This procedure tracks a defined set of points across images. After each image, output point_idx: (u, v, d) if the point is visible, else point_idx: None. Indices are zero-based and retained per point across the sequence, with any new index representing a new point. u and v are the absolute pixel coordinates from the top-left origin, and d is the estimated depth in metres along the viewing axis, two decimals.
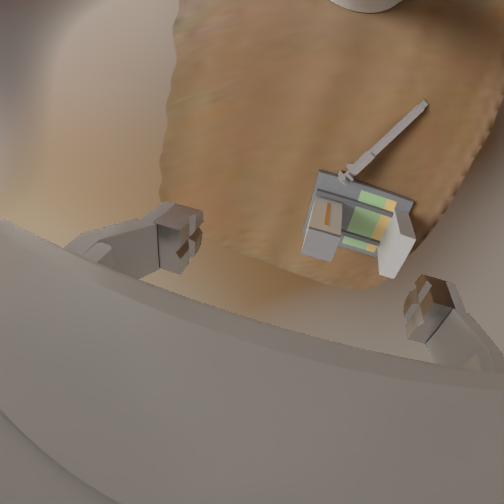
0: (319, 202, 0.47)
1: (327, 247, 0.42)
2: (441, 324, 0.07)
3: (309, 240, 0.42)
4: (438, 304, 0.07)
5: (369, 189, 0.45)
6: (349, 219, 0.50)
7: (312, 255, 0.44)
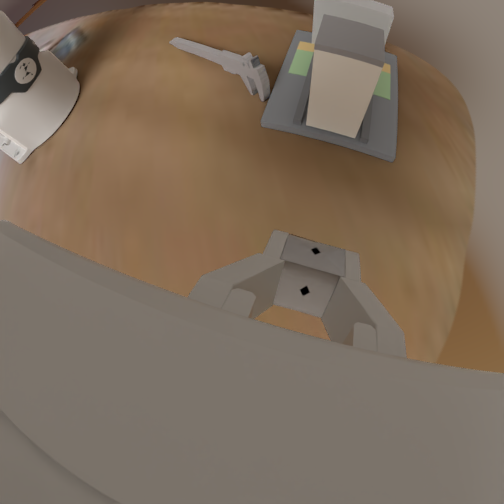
0: None
1: (352, 27, 0.15)
2: (332, 295, 0.08)
3: (344, 45, 0.15)
4: (319, 270, 0.08)
5: (286, 65, 0.28)
6: None
7: (380, 47, 0.15)
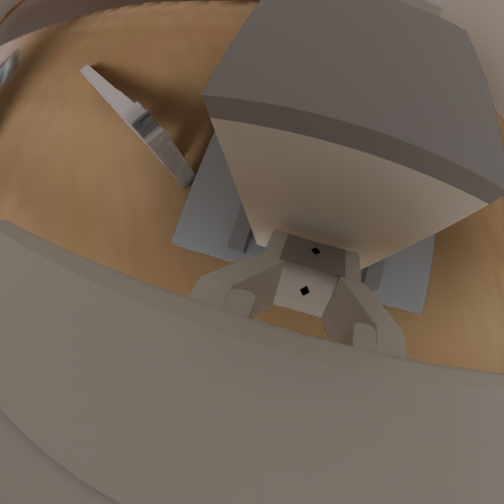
0: None
1: (374, 12, 0.04)
2: (332, 295, 0.08)
3: (349, 87, 0.03)
4: (319, 270, 0.08)
5: None
6: None
7: (483, 102, 0.03)
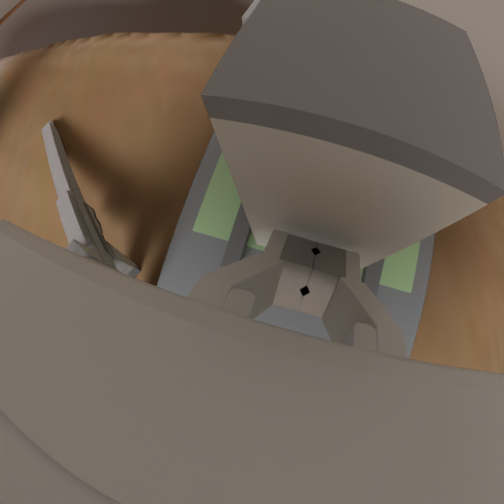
0: None
1: (374, 12, 0.04)
2: (332, 295, 0.08)
3: (348, 88, 0.03)
4: (320, 270, 0.08)
5: (192, 205, 0.15)
6: None
7: (482, 103, 0.03)
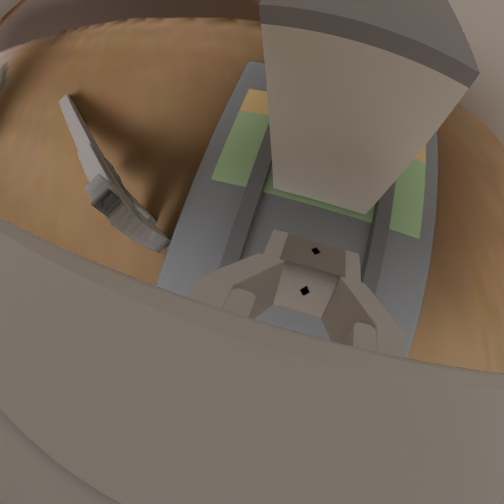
0: None
1: None
2: (332, 295, 0.08)
3: (357, 7, 0.04)
4: (319, 270, 0.08)
5: (210, 157, 0.16)
6: (325, 213, 0.14)
7: (454, 28, 0.04)
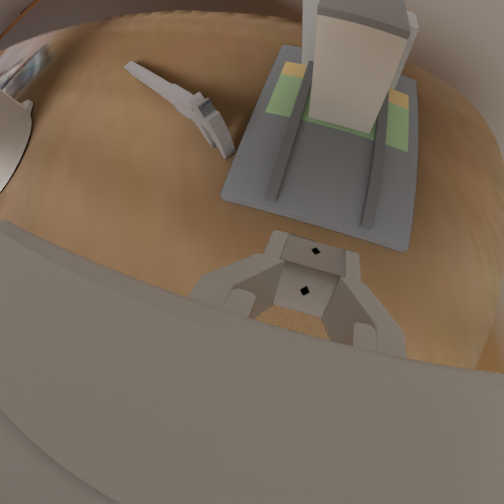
0: None
1: None
2: (332, 295, 0.08)
3: (357, 9, 0.10)
4: (319, 270, 0.08)
5: (263, 100, 0.21)
6: (343, 133, 0.20)
7: (403, 16, 0.09)
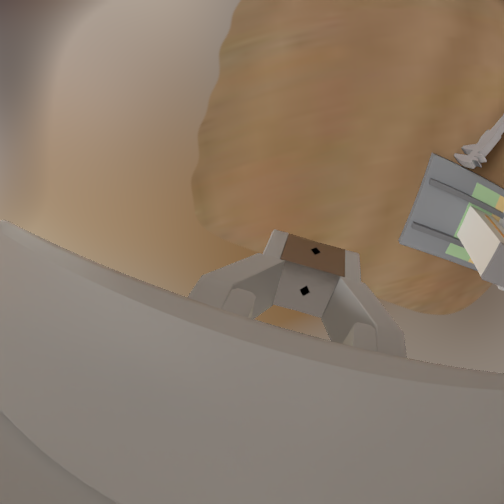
0: (480, 213, 0.28)
1: None
2: (332, 295, 0.08)
3: (497, 260, 0.23)
4: (319, 270, 0.08)
5: (484, 182, 0.28)
6: (459, 221, 0.32)
7: (492, 280, 0.24)
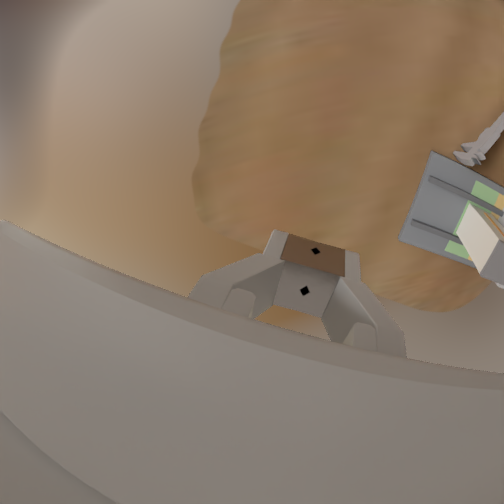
0: (479, 211, 0.28)
1: None
2: (332, 295, 0.08)
3: (496, 258, 0.23)
4: (319, 270, 0.08)
5: (484, 180, 0.28)
6: (458, 219, 0.32)
7: (491, 278, 0.24)
